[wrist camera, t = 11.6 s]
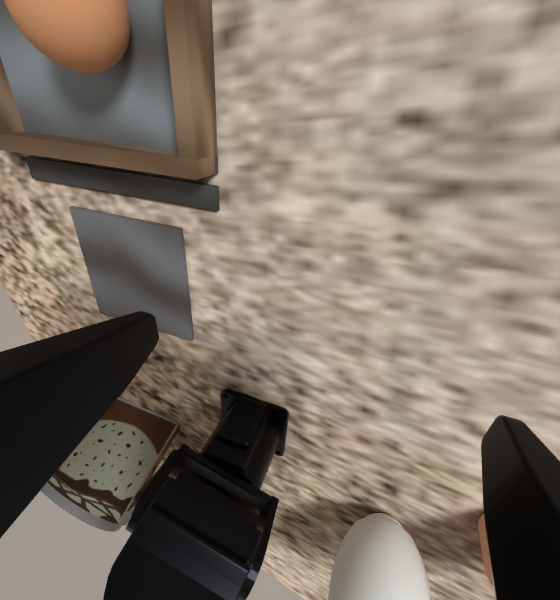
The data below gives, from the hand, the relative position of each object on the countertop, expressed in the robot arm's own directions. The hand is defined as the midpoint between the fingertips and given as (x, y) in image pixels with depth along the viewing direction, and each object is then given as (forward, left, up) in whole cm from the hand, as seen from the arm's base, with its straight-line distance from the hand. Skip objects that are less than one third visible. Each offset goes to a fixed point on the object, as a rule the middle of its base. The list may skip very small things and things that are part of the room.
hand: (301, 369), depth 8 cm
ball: (+9, +15, -9) cm, 19 cm away
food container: (-28, +20, -12) cm, 37 cm away
